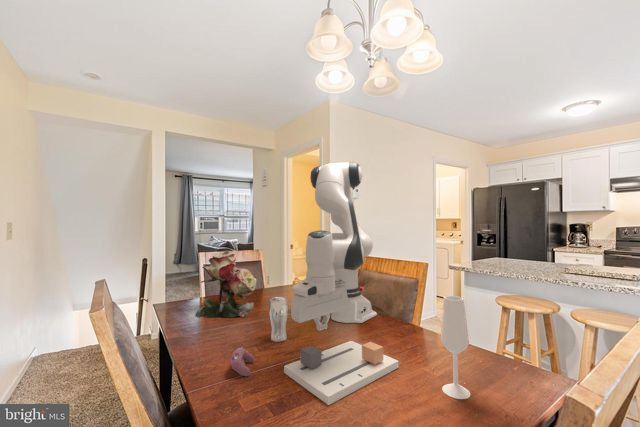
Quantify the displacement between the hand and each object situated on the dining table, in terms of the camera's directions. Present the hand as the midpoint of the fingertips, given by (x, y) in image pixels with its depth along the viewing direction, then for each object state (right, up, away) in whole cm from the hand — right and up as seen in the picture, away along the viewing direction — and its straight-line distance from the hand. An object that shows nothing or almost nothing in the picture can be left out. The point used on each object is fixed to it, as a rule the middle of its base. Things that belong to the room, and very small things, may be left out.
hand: (322, 329), depth 89 cm
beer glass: (-16, -13, +22) cm, 30 cm away
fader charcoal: (-3, -9, -3) cm, 10 cm away
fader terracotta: (+15, -9, -1) cm, 18 cm away
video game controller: (-24, -12, -1) cm, 27 cm away
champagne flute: (+35, -11, -14) cm, 39 cm away
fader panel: (+6, -11, -2) cm, 13 cm away
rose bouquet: (-47, -14, +60) cm, 77 cm away
